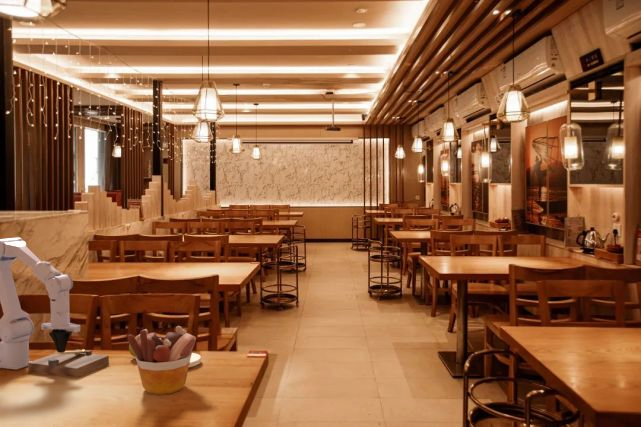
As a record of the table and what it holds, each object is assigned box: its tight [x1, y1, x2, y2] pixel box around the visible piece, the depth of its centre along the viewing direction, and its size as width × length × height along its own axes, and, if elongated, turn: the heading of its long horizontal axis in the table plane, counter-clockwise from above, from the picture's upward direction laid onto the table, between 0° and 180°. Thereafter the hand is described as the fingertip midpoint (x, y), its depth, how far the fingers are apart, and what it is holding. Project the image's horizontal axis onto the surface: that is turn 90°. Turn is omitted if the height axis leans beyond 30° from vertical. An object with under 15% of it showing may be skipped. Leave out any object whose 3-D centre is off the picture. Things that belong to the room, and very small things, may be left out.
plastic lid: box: [189, 352, 202, 368], centre depth 192 cm, size 14×14×2 cm
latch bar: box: [53, 349, 87, 354], centre depth 190 cm, size 3×12×1 cm, turn 161°
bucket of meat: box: [126, 325, 197, 396], centre depth 167 cm, size 20×16×20 cm
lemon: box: [128, 335, 138, 357], centre depth 200 cm, size 6×6×8 cm
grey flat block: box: [27, 349, 110, 379], centre depth 189 cm, size 20×15×5 cm
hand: (61, 352), depth 185 cm, fingers closed, pressing on latch bar
